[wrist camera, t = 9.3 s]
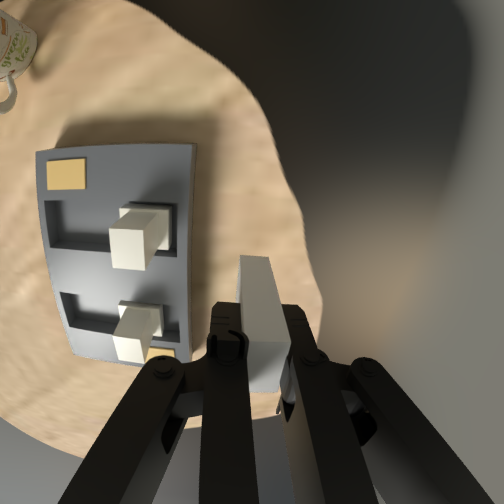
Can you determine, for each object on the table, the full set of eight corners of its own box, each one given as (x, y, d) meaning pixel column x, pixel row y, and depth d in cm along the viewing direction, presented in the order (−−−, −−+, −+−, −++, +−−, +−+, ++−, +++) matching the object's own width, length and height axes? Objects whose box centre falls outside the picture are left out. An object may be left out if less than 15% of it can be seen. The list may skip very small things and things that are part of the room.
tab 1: (127, 240, 22) (102, 269, 17) (125, 203, 21) (97, 224, 16) (171, 242, 22) (156, 274, 17) (172, 205, 21) (155, 227, 16)
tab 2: (127, 322, 25) (111, 360, 20) (122, 296, 24) (103, 332, 19) (164, 326, 26) (153, 366, 21) (162, 300, 25) (149, 339, 20)
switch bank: (82, 338, 28) (73, 355, 25) (53, 148, 19) (34, 152, 16) (192, 353, 30) (190, 374, 27) (196, 143, 21) (191, 144, 18)
